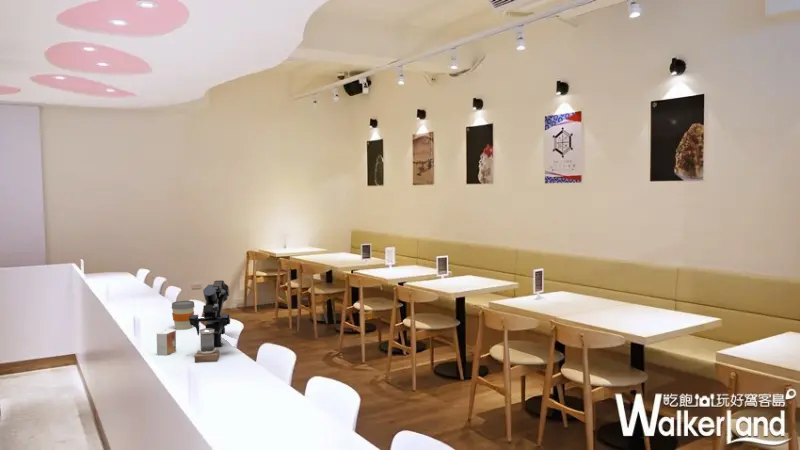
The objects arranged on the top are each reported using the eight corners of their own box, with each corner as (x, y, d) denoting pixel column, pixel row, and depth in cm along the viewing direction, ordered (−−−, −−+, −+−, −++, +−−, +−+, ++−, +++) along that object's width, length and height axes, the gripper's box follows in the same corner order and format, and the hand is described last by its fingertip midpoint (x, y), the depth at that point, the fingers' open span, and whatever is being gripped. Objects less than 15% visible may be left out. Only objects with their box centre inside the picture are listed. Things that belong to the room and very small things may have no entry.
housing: (198, 352, 280) (197, 329, 279) (212, 350, 284) (211, 327, 283) (202, 355, 275) (201, 332, 274) (216, 353, 278) (216, 330, 278)
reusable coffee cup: (199, 327, 345) (199, 302, 344) (181, 331, 334) (180, 305, 334) (185, 324, 352) (185, 299, 351) (167, 328, 341) (166, 303, 340)
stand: (197, 356, 283) (197, 350, 283) (219, 355, 285) (219, 349, 285) (194, 362, 273) (194, 356, 273) (217, 361, 275) (217, 355, 275)
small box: (167, 355, 285) (166, 334, 285) (156, 354, 286) (156, 333, 286) (176, 351, 293) (176, 330, 293) (166, 350, 294) (165, 329, 294)
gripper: (189, 298, 285) (185, 326, 274) (229, 297, 288) (226, 325, 277) (192, 311, 293) (188, 338, 283) (231, 310, 296) (228, 337, 286)
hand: (208, 334), depth 282 cm, fingers open, 9 cm apart
